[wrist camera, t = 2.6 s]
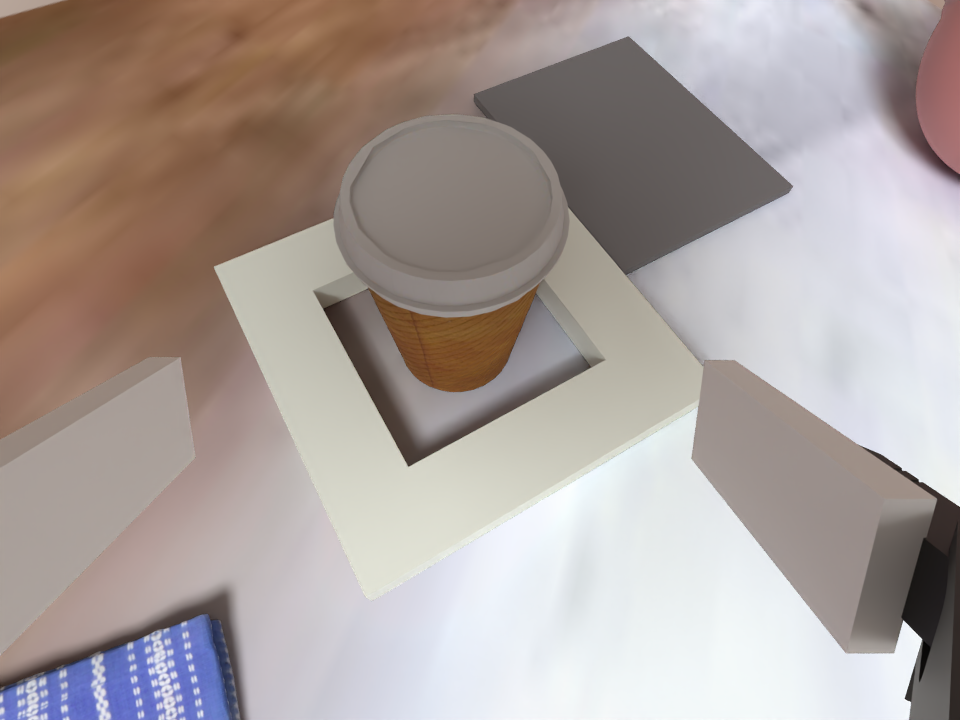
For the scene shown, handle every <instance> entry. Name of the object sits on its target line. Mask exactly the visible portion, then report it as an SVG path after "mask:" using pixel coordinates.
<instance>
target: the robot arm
mask: <svg viewBox="0 0 960 720" xmlns="http://www.w3.org/2000/svg"><path fill="white" fill-rule="evenodd" d="M195 458H196V457H195V451H194V444H193V437H192V431H191V424H190V417H189V411H188V404H187V397H186V391H185V384H184V377H183V371H182V364H181V357H148V358H147V359H145V360H143V361H141V362H139V363H138V364H136V365H134V366H132V367H130V368H129V369H127V370H125V371H123V372H121V373H120V374H118V375H116V376H114V377H112V378H111V379H109V380H107V381H105V382H103V383H102V384H100V385H98V386H96V387H94V388H93V389H91V390H89V391H87V392H85V393H84V394H82V395H80V396H78V397H76V398H75V399H73V400H71V401H69V402H67V403H66V404H64V405H62V406H60V407H58V408H57V409H55V410H53V411H51V412H49V413H48V414H46V415H44V416H42V417H40V418H39V419H37V420H35V421H33V422H31V423H30V424H28V425H26V426H24V427H22V428H20V429H19V430H17V431H15V432H13V433H11V434H10V435H8V436H6V437H4V438H2V439H1V440H0V655H1V654H2V653H3V652H4V651H5V650H6V649H7V648H8V647H9V646H10V645H11V644H12V643H13V642H14V641H15V640H16V639H17V638H18V637H19V636H20V635H21V634H22V633H23V632H24V631H25V630H26V629H27V628H28V627H29V626H30V625H31V624H32V623H33V622H34V621H35V620H36V619H37V618H38V617H39V616H40V615H41V614H42V613H43V612H44V611H45V610H46V609H47V608H48V607H49V606H50V605H51V604H52V603H53V602H54V601H55V600H56V599H57V598H58V597H59V596H60V595H61V594H62V593H63V592H64V591H65V590H66V589H67V587H68V586H69V585H70V584H71V583H72V582H73V581H74V580H75V579H76V578H77V577H78V576H79V575H80V574H81V573H82V572H83V571H84V570H85V569H86V568H87V567H88V566H89V565H90V564H91V563H92V562H93V561H94V560H95V559H96V558H97V557H98V556H99V555H100V554H101V553H102V552H103V551H104V550H105V549H106V548H107V547H108V546H109V545H110V544H111V543H112V542H113V541H114V540H115V539H116V538H117V537H118V536H119V535H120V534H121V533H122V532H123V531H124V530H125V529H126V528H127V527H128V526H129V525H130V524H131V523H132V522H133V521H134V519H135V518H136V517H137V516H138V515H139V514H140V513H141V512H142V511H143V510H144V509H145V508H146V507H147V506H148V505H149V504H150V503H151V502H152V501H153V500H154V499H155V498H156V497H157V496H158V495H159V494H160V493H161V492H162V491H163V490H164V489H165V488H166V487H167V486H168V485H169V484H170V483H171V482H172V481H173V480H174V479H175V478H176V477H177V476H178V475H179V474H180V473H181V472H182V471H183V470H184V469H185V468H186V467H187V466H188V465H189V464H190V463H191V462H192V461H193V460H194V459H195ZM691 459H692V460H693V461H694V463H695V464H696V465H697V466H698V468H699V469H700V470H701V471H702V473H703V474H704V475H705V476H706V478H707V479H708V480H709V481H710V483H711V484H712V485H713V487H714V488H715V489H716V490H717V492H718V493H719V494H720V495H721V497H722V498H723V499H724V500H725V502H726V503H727V504H728V505H729V507H730V508H731V509H732V510H733V512H734V513H735V514H736V515H737V517H738V518H739V519H740V521H741V522H742V523H743V524H744V526H745V527H746V528H747V529H748V531H749V532H750V533H751V534H752V536H753V537H754V538H755V539H756V541H757V542H758V543H759V544H760V546H761V547H762V548H763V549H764V551H765V552H766V553H767V555H768V556H769V557H770V558H771V560H772V561H773V562H774V563H775V565H776V566H777V567H778V568H779V570H780V571H781V572H782V573H783V575H784V576H785V577H786V578H787V580H788V581H789V582H790V583H791V585H792V586H793V587H794V589H795V590H796V591H797V592H798V594H799V595H800V596H801V597H802V599H803V600H804V601H805V602H806V604H807V605H808V606H809V607H810V609H811V610H812V611H813V612H814V614H815V615H816V616H817V617H818V619H819V620H820V621H821V623H822V624H823V625H824V626H825V628H826V629H827V630H828V631H829V633H830V634H831V635H832V636H833V638H834V639H835V640H836V641H837V643H838V644H839V645H840V646H841V648H842V649H843V650H844V651H845V653H894V651H895V648H896V644H897V641H898V637H899V634H900V630H901V626H902V623H903V620H904V621H905V622H906V623H907V624H908V625H909V626H910V627H911V628H912V629H913V630H914V631H915V632H916V633H917V634H918V635H919V636H920V637H921V638H922V643H921V646H920V649H919V653H918V656H917V659H916V663H915V666H914V669H913V673H912V676H911V680H910V683H909V686H908V690H907V693H906V696H905V699H906V700H908V701H910V702H911V709H910V717H909V720H960V507H959V506H957V505H956V504H954V503H953V502H951V501H950V500H948V499H947V498H945V497H944V496H942V495H941V494H939V493H938V492H936V491H935V490H933V489H932V488H930V487H929V486H927V485H926V484H924V483H923V482H919V479H917V478H916V477H914V476H913V475H911V474H910V473H908V472H907V471H902V468H901V467H899V466H898V465H896V464H895V463H893V462H892V461H890V460H889V459H887V458H886V457H884V456H883V455H881V454H879V453H876V452H874V451H871V450H869V449H867V448H864V447H862V446H860V445H858V444H856V443H855V442H853V441H852V440H850V439H849V438H847V437H846V436H844V435H843V434H841V433H840V432H839V431H837V430H836V429H834V428H833V427H831V426H830V425H828V424H827V423H825V422H824V421H822V420H821V419H820V418H818V417H817V416H815V415H814V414H812V413H811V412H809V411H808V410H806V409H805V408H803V407H802V406H801V405H799V404H798V403H796V402H795V401H793V400H792V399H790V398H789V397H787V396H786V395H784V394H783V393H781V392H780V391H779V390H777V389H776V388H774V387H773V386H771V385H770V384H768V383H767V382H765V381H764V380H762V379H761V378H760V377H758V376H757V375H755V374H754V373H752V372H751V371H749V370H748V369H746V368H745V367H743V366H742V365H741V364H739V363H738V362H736V361H735V360H705V361H704V369H703V376H702V384H701V391H700V399H699V406H698V414H697V421H696V428H695V436H694V443H693V451H692V458H691Z"/></svg>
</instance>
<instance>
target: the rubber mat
mask: <svg viewBox="0 0 960 720" xmlns="http://www.w3.org/2000/svg"><path fill="white" fill-rule="evenodd" d="M474 102H475V103H476V105H477V106H478V107H479V108H480V109H481V111H482V112H483V113H484V114H485V115H486V116H487V118H488V119H490V120H493V121H496V122H499V123H501V124H504V125H507V126H510V127H512V128H513V129H515V130H517V131H518V132H520V133H522V134H523V135H525V136H526V137H528V138H530V139H531V140H532V141H533V142H534V143H535V144H536V145H537V146H538V147H540V148H541V149H542V150H543V151H544V153H545V154H546V155H547V157H548V158H549V159H550V160H551V162H552V164H553V166H554V168H555V170H556V172H557V174H558V178H559V182H560V186H561V188H562V190H563V192H564V195H565V198H566V200H567V204H568V208H569V209H570V210H571V211H572V212H573V214H574V215H575V216H576V217H577V218H578V219H579V221H580V222H581V223H582V224H583V225H584V227H585V228H586V229H587V230H588V231H589V232H590V234H591V235H592V236H593V237H594V238H595V240H596V241H597V242H598V243H599V244H600V245H601V247H602V248H603V249H604V250H605V251H606V253H607V254H608V255H609V256H610V257H611V258H612V260H613V261H614V262H615V263H616V264H617V266H618V267H619V268H620V269H621V270H622V271H623V273H624V274H625V275H626V274H628V273H630V272H632V271H634V270H636V269H638V268H640V267H642V266H644V265H646V264H648V263H650V262H652V261H654V260H656V259H658V258H660V257H662V256H664V255H666V254H668V253H670V252H672V251H674V250H676V249H678V248H680V247H682V246H684V245H686V244H688V243H690V242H692V241H694V240H696V239H698V238H700V237H702V236H704V235H706V234H708V233H710V232H712V231H714V230H716V229H718V228H720V227H722V226H724V225H726V224H728V223H730V222H732V221H734V220H736V219H738V218H740V217H742V216H744V215H746V214H748V213H750V212H752V211H754V210H756V209H758V208H760V207H762V206H764V205H766V204H768V203H770V202H772V201H774V200H775V199H777V198H779V197H781V196H783V195H785V194H787V193H789V192H790V190H791V189H792V187H793V186H792V185H791V184H790V183H789V182H788V181H787V180H786V179H785V178H784V177H782V176H781V175H780V174H779V173H778V172H777V171H776V170H775V169H774V168H773V167H771V166H770V165H769V164H768V163H767V162H766V161H765V160H764V159H763V158H762V157H760V156H759V155H758V154H757V153H756V152H755V151H754V150H753V149H752V148H751V147H749V146H748V145H747V144H746V143H745V142H744V141H743V140H742V139H741V138H740V137H739V136H737V135H736V134H735V133H734V132H733V131H732V130H731V129H730V128H729V127H728V126H726V125H725V124H724V123H723V122H722V121H721V120H720V119H719V118H718V117H717V116H715V115H714V114H713V113H712V112H711V111H710V110H709V109H708V108H707V107H706V106H704V105H703V104H702V103H701V102H700V101H699V100H698V99H697V98H696V97H695V96H694V95H692V94H691V93H690V92H689V91H688V90H687V89H686V88H685V87H684V86H683V85H681V84H680V83H679V82H678V81H677V80H676V79H675V78H674V77H673V76H672V75H670V74H669V73H668V72H667V71H666V70H665V69H664V68H663V67H662V66H661V65H659V64H658V63H657V62H656V61H655V60H654V59H653V58H652V57H651V56H650V55H649V54H647V53H646V52H645V51H644V50H643V49H642V48H641V47H640V46H639V45H638V44H636V43H635V42H634V41H633V40H632V39H631V38H630V37H629V36H628V37H626V38H623V39H620V40H618V41H615V42H612V43H610V44H607V45H604V46H602V47H599V48H596V49H594V50H591V51H588V52H586V53H583V54H580V55H578V56H575V57H572V58H570V59H567V60H564V61H562V62H559V63H556V64H554V65H551V66H548V67H546V68H543V69H540V70H538V71H535V72H532V73H530V74H527V75H524V76H522V77H519V78H516V79H513V80H511V81H508V82H505V83H503V84H500V85H497V86H495V87H492V88H489V89H487V90H484V91H481V92H479V93H476V94H474Z"/></svg>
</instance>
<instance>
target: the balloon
mask: <svg viewBox="0 0 960 720" xmlns="http://www.w3.org/2000/svg"><path fill="white" fill-rule="evenodd" d="M916 108H917V115H918V119H919V123H920V126H921V128H922V131H923V133H924V136H925V138H926V140H927V141H928V143H929V145H930V146H931V148H932V149H933V151H934V152H935V153H936V154H937V155H938V157H939V158H940V159H941V160H942V161H943V162H944V163H945V164H947V165H948V166H949V167H950V168H951V169H953V170H954V171H955V172H957V173H958V174H960V0H945V5H944V7H943V9H942V15H941V19H940V21H939V23H938V24H937V26H936V28H935V30H934V31H933V33H932V35H931V37H930V39H929V41H928V44H927V46H926V49H925V51H924V54H923V57H922V60H921V63H920V67H919V71H918V76H917V83H916Z"/></svg>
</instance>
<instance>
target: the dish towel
mask: <svg viewBox="0 0 960 720" xmlns="http://www.w3.org/2000/svg"><path fill="white" fill-rule="evenodd" d="M0 720H241V719H240V712H239V707H238V700H237V696H236V688H235V683H234V675H233V672H232V666H231V663H230V659H229V654H228V649H227V644H226V642H225V638H224V634H223V630H222V625H221V621H220V620H210V617H209V615H208V614H202V615H199V616H196V617H194V618H192V619H190V620H187V621H184V622H182V623H180V624H177V625H174V626H171V627H168V628H165V629H160V630H156V631H155V632H153V633H151V634H149V635H147V636H144V637H142V638H140V639H138V640H135V641H131V642H127V643H125V644H122V645H119V646H116V647H114V648H111V649H109V650H106V651H98V652H96V653H94V654H92V655H91V656H89V657H87V658H84V659H81V660H78V661H76V662H73V663H70V664H66V665H61V666H59V667H57V668H56V669H53V670H49V671H46V672H42V673H38V674H35V675H33V676H31V677H28V678H25V679H22V680H20V681H18V682H16V683H13V684H11V685H8V686H4V687H2V688H0Z"/></svg>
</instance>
